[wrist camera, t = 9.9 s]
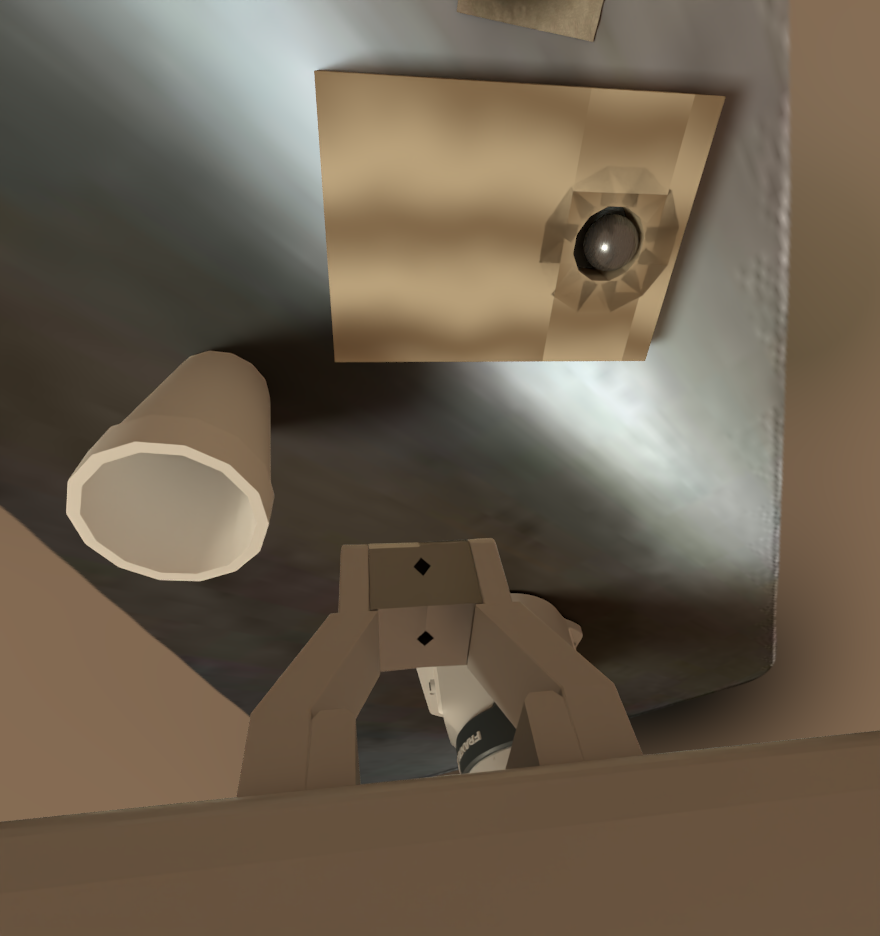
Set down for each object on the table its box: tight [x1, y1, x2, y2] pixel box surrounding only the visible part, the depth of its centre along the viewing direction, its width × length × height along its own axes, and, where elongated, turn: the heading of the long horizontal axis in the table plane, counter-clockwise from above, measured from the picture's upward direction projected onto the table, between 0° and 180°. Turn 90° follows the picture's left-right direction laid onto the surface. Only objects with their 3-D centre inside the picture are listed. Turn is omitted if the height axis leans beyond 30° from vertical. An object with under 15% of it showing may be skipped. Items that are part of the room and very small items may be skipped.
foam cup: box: [66, 351, 274, 581], centre depth 32 cm, size 10×9×13 cm
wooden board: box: [314, 70, 726, 362], centre depth 32 cm, size 15×21×2 cm
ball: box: [583, 214, 639, 271], centre depth 33 cm, size 3×3×3 cm
